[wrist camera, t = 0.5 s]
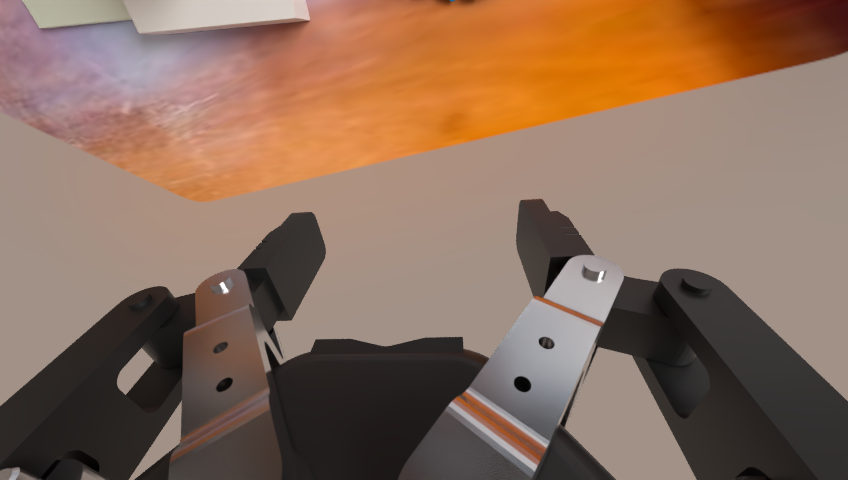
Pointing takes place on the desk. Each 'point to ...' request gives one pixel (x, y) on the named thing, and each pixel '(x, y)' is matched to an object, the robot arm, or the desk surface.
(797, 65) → the desk surface
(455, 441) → the robot arm
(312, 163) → the desk surface
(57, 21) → the sage pad
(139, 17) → the white l-shaped piece
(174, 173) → the desk surface
